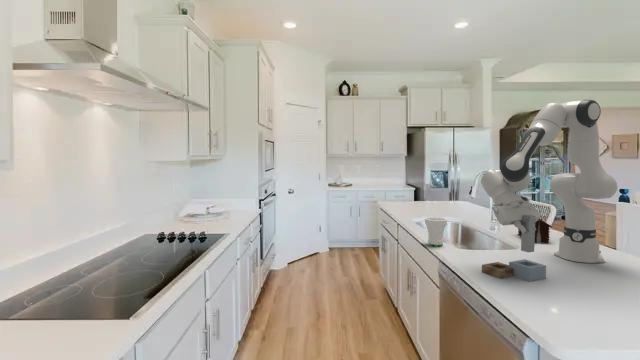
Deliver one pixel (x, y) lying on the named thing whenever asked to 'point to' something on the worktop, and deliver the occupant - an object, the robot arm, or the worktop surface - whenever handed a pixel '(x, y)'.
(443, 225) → the cup
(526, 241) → the tall brushed metal pillar
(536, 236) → the model building
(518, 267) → the block
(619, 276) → the worktop surface
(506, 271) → the socket block
